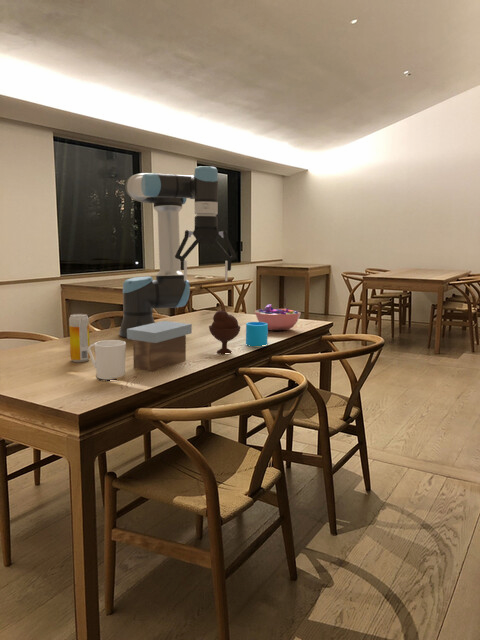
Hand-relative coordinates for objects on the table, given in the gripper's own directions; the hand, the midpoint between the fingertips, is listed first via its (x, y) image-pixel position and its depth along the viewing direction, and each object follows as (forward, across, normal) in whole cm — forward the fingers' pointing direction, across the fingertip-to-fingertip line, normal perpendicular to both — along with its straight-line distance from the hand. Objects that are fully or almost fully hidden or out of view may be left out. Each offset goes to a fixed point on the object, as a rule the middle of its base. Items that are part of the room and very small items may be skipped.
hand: (205, 280), depth 179 cm
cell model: (+26, +29, +50) cm, 63 cm away
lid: (+16, -14, -14) cm, 25 cm away
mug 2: (+26, +19, +22) cm, 39 cm away
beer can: (+26, -41, -7) cm, 49 cm away
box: (+26, -14, -14) cm, 33 cm away
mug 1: (+26, -27, -27) cm, 46 cm away
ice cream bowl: (+26, +6, +6) cm, 28 cm away
